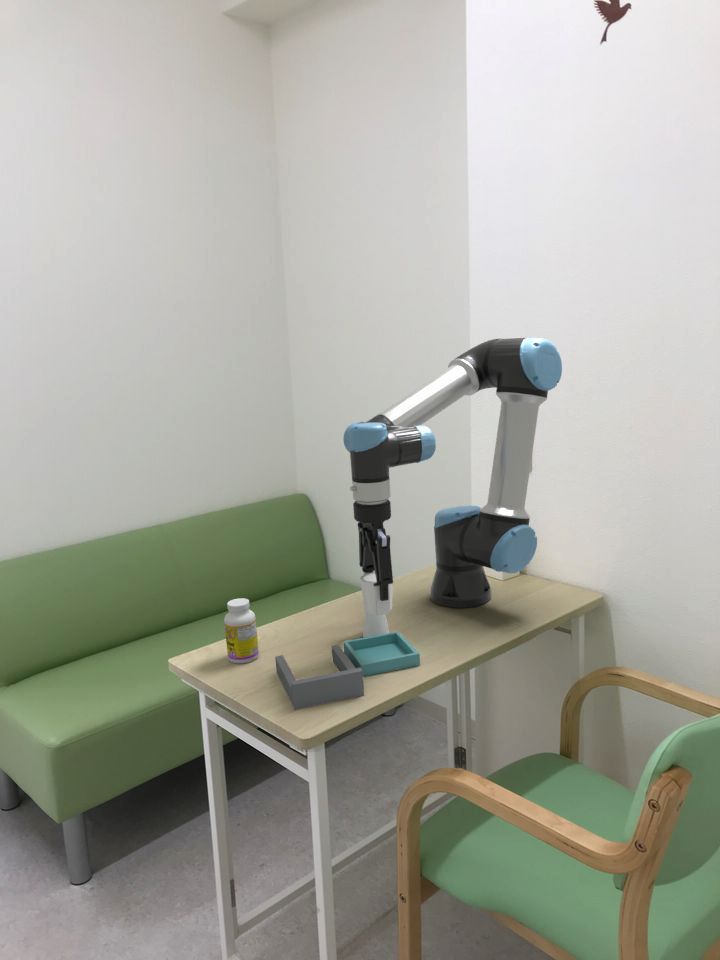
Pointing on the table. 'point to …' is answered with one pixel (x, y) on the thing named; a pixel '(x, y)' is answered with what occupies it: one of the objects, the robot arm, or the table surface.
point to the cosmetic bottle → (374, 624)
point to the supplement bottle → (241, 632)
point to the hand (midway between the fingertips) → (377, 607)
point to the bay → (322, 682)
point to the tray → (381, 653)
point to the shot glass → (371, 592)
